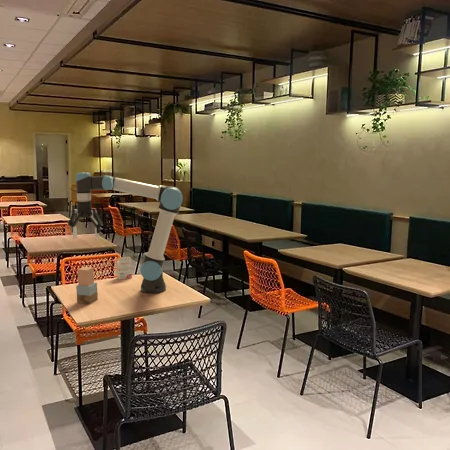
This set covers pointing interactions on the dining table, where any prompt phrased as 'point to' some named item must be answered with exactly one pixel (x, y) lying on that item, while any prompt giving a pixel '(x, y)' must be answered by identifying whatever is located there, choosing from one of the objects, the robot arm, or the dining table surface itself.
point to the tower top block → (86, 289)
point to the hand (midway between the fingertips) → (86, 238)
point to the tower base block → (87, 298)
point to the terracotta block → (85, 276)
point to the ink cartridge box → (124, 268)
